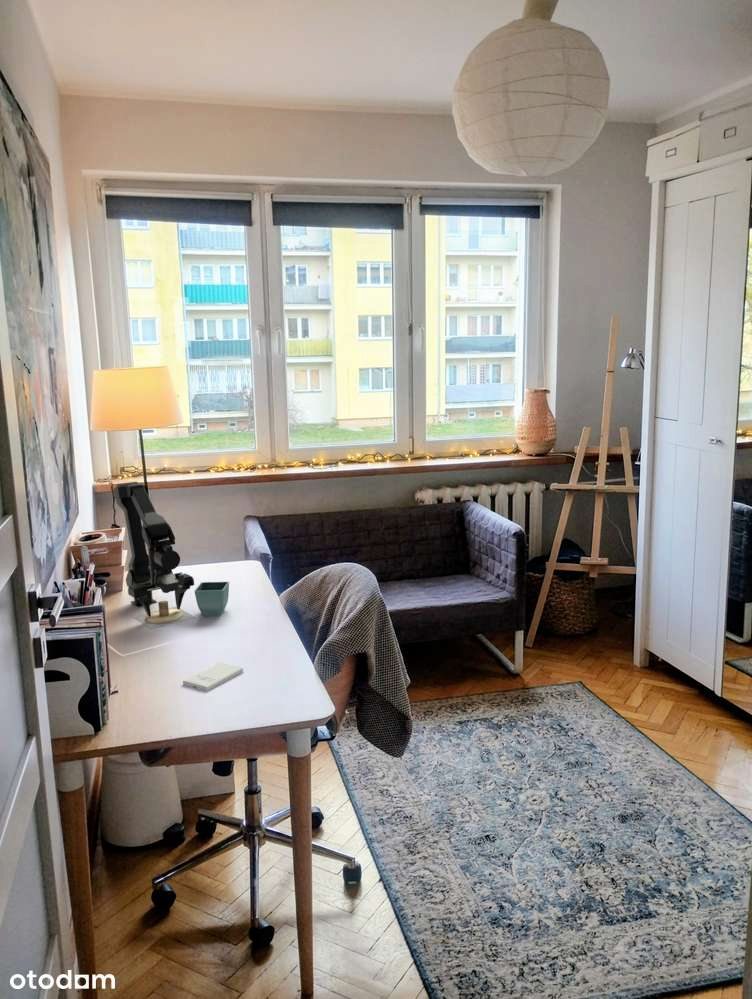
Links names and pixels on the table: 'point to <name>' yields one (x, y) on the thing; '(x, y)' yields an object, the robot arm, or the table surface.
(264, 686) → the table surface
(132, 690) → the table surface
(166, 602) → the lid
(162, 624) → the mat
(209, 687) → the external hard drive
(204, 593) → the flower pot
